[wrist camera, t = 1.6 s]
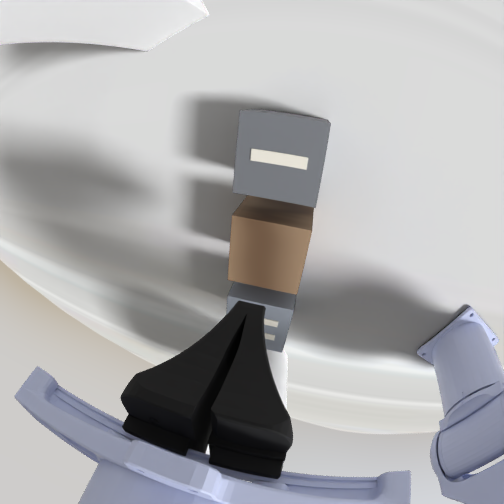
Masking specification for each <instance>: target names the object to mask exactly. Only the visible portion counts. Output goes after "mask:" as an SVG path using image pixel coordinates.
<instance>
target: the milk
mask: <svg viewBox="0 0 504 504" xmlns="http://www.w3.org/2000/svg"><path fill="white" fill-rule="evenodd" d="M207 16H209V13H208V11H207V9H206V7H205V5H204V3H203V1H202V0H0V45H5V44H16V43H34V42H66V43H85V44H97V45H107V46H115V47H123V48H130V49H136V50H142V51H149V50H151V49H152V48H154V47H155V46H157V45H158V44H160V43H161V42H163V41H165V40H166V39H168V38H170V37H171V36H173V35H175V34H176V33H178V32H180V31H181V30H183V29H185V28H187V27H188V26H190V25H192V24H194V23H196V22H198V21H200V20H202V19H203V18H205V17H207Z"/></svg>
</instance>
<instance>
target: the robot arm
mask: <svg viewBox="0 0 504 504" xmlns="http://www.w3.org/2000/svg"><path fill="white" fill-rule="evenodd" d="M265 310H266V308H265V307H264V306H262V305H257V304H253V303H248V302H244V301H240V300H239V301H238V302H237V303H236V304H235V305H234V307H233V308H232V309H231V310H230V311H229V313H228V314H227V315H226V316H225V317H224V318H223V319H222V320H221V321H220V322H219V323H218V324H217V325H216V326H215V327H214V328H213V329H212V330H211V331H210V332H208V333H207V334H206V335H205V336H204V337H203V338H201V339H200V340H199V341H198V342H196V343H195V344H194V345H192V346H191V347H189V348H188V349H186V350H185V351H183V352H182V353H180V354H178V355H177V356H175V357H173V358H171V359H169V360H167V361H166V362H164V363H162V364H160V365H157V366H155V367H153V368H150V369H148V370H146V371H143V372H140V373H137V374H136V375H135V376H134V377H133V378H132V380H131V381H130V382H129V383H128V385H127V387H126V388H125V390H124V391H123V393H122V395H121V401H122V403H123V405H124V407H125V409H126V410H127V412H128V413H129V415H128V416H127V418H126V420H125V422H122V421H120V420H119V419H116V418H114V417H112V416H111V415H108V414H107V413H105V412H103V411H101V410H99V409H97V408H95V407H94V406H92V405H90V404H88V403H87V402H85V401H83V400H81V399H80V398H78V397H76V396H75V395H73V394H72V393H70V392H68V391H67V390H65V389H64V388H62V387H61V386H59V385H58V383H57V381H56V380H55V379H54V378H53V377H52V376H51V375H50V374H49V373H47V372H46V371H44V370H43V369H41V368H40V367H38V366H37V367H36V368H35V370H34V371H33V372H32V373H31V375H30V376H29V377H28V379H27V380H26V381H25V383H24V384H23V385H22V387H21V388H20V390H19V391H18V392H17V393H16V395H15V398H16V400H18V402H19V403H20V404H21V405H22V406H23V407H24V408H25V409H26V410H27V411H28V412H29V413H30V414H31V415H32V416H33V417H34V418H35V419H36V420H37V421H39V422H40V423H41V424H42V425H44V426H45V427H46V428H48V429H49V430H50V431H52V432H53V433H54V434H56V435H57V436H58V437H60V438H61V439H62V440H64V441H65V442H66V443H68V444H69V445H71V446H72V447H74V448H75V449H77V450H78V451H80V452H81V453H83V454H84V455H86V456H87V457H89V458H90V459H92V460H94V461H96V462H97V463H99V464H98V466H97V468H96V470H95V472H94V474H93V476H92V478H91V480H90V481H89V483H88V485H87V487H86V489H85V491H84V493H83V495H82V497H81V499H80V501H79V503H78V504H410V495H411V472H410V471H409V470H408V471H394V472H386V473H384V474H381V475H380V476H379V477H335V476H321V475H309V474H300V473H292V472H285V471H282V467H283V462H284V461H285V457H286V452H287V451H288V450H289V448H290V447H291V446H292V442H293V432H292V425H291V420H290V416H289V414H288V412H287V410H286V408H285V406H284V404H283V402H282V400H281V397H280V395H279V392H278V390H277V387H276V384H275V381H274V379H273V375H272V372H271V368H270V364H269V360H268V355H267V350H266V343H265V333H264V316H265ZM470 314H471V315H470ZM498 342H499V339H498V337H497V336H496V335H495V334H494V332H493V331H492V330H491V329H490V328H489V326H488V325H487V324H486V323H485V322H484V321H483V319H482V318H481V317H480V316H479V315H478V314H477V313H476V312H475V310H474V309H473V308H471V307H469V308H467V309H466V310H465V311H464V312H463V313H462V314H461V315H459V316H458V317H457V318H456V319H455V320H454V321H453V322H451V323H450V324H449V325H448V326H447V327H446V328H444V329H443V330H442V331H441V332H440V333H438V334H437V335H436V336H435V337H433V338H432V339H431V340H430V341H428V342H427V343H426V344H424V345H423V346H422V347H420V348H419V349H418V350H417V354H418V355H419V356H420V357H422V358H424V359H425V360H427V361H428V362H430V363H431V364H433V365H434V368H435V372H436V376H437V381H438V385H439V390H440V395H441V400H442V405H443V411H444V417H445V418H444V419H442V420H441V421H439V425H440V430H439V431H438V432H437V433H436V434H435V436H434V438H433V441H432V445H431V450H430V458H431V464H432V467H433V470H434V472H435V474H436V475H437V477H438V480H439V483H440V487H441V492H442V495H443V496H445V497H447V498H450V499H453V500H456V501H459V502H462V503H464V504H504V460H502V461H500V462H498V463H497V464H495V465H493V466H491V467H489V468H487V469H485V470H483V471H481V472H479V473H477V474H468V473H470V472H472V471H474V470H476V469H478V468H480V467H482V466H484V465H486V464H487V463H489V462H491V461H493V460H495V459H496V458H498V457H500V456H502V455H503V454H504V371H503V368H502V365H501V363H500V360H499V358H498V355H497V353H496V350H495V348H494V346H495V345H496V344H497V343H498ZM208 444H209V453H210V455H208V454H206V450H207V447H208ZM244 480H245V481H244ZM247 481H250V482H247ZM251 482H252V483H251Z"/></svg>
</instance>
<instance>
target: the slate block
mask: <svg viewBox="0 0 504 504" xmlns="http://www.w3.org/2000/svg"><path fill="white" fill-rule="evenodd" d="M239 300H240V301H244V302H248V303H253V304H257V305H262V306H264V307H265V308H266V310H265V316H264V333H265V343H266V349H267V350H272V351H276V352H281V353H282V351H283V348H284V344H285V341H286V337H287V334H288V330H289V326H290V323H291V319H292V315H293V311H294V306H295V300H296V295H295V294H291V293H286V292H281V291H276V290H272V289H267V288H262V287H258V286H253V285H249V284H244V283H240V282H235V281H234V283H233V285H232V287H231V290H230V292H229V294H228V297H227V313H226V315H227V314H228V313H229V311H230V310H231V309H232V308H233V307H234V305H235V304H236V303H237V302H238V301H239Z"/></svg>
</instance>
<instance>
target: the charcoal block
mask: <svg viewBox="0 0 504 504" xmlns="http://www.w3.org/2000/svg"><path fill="white" fill-rule="evenodd" d="M330 126H331V123H330V122H329V121H328V120H325V119H320V118H315V117H309V116H304V115H298V114H291V113H285V112H277V111H270V110H261V109H251V110H240V115H239V125H238V136H237V146H236V158H235V169H234V181H233V193H238V194H244V195H250V196H256V197H262V198H267V199H273V200H278V201H283V202H289V203H294V204H299V205H304V206H309V207H314V208H316V203H317V198H318V193H319V188H320V182H321V177H322V172H323V166H324V161H325V155H326V150H327V144H328V138H329V132H330Z"/></svg>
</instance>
